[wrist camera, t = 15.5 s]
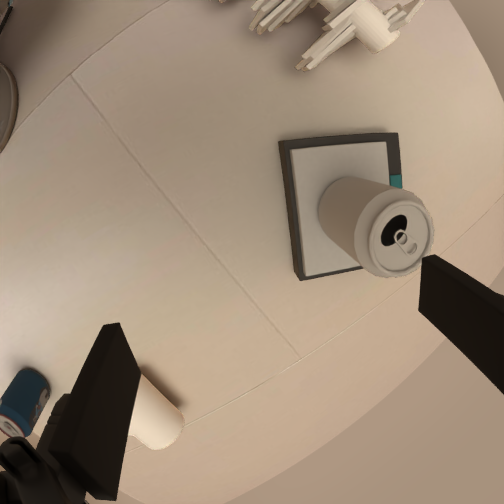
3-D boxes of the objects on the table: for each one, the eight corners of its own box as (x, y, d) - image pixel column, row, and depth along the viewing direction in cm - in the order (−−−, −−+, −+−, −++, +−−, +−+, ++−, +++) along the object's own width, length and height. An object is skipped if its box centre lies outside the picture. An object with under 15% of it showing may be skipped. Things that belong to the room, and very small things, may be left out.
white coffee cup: (145, 362, 42) (135, 399, 35) (186, 404, 45) (183, 442, 38) (92, 388, 43) (78, 423, 36) (132, 425, 46) (124, 460, 39)
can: (346, 161, 32) (407, 171, 21) (389, 206, 34) (454, 234, 23) (301, 213, 33) (343, 248, 22) (348, 255, 36) (399, 302, 24)
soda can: (13, 370, 41) (-17, 413, 30) (35, 362, 41) (4, 409, 29) (36, 399, 43) (12, 444, 32) (59, 393, 43) (35, 442, 32)
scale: (278, 141, 35) (285, 140, 31) (386, 132, 36) (403, 132, 32) (294, 271, 40) (302, 285, 36) (392, 252, 41) (407, 263, 37)
